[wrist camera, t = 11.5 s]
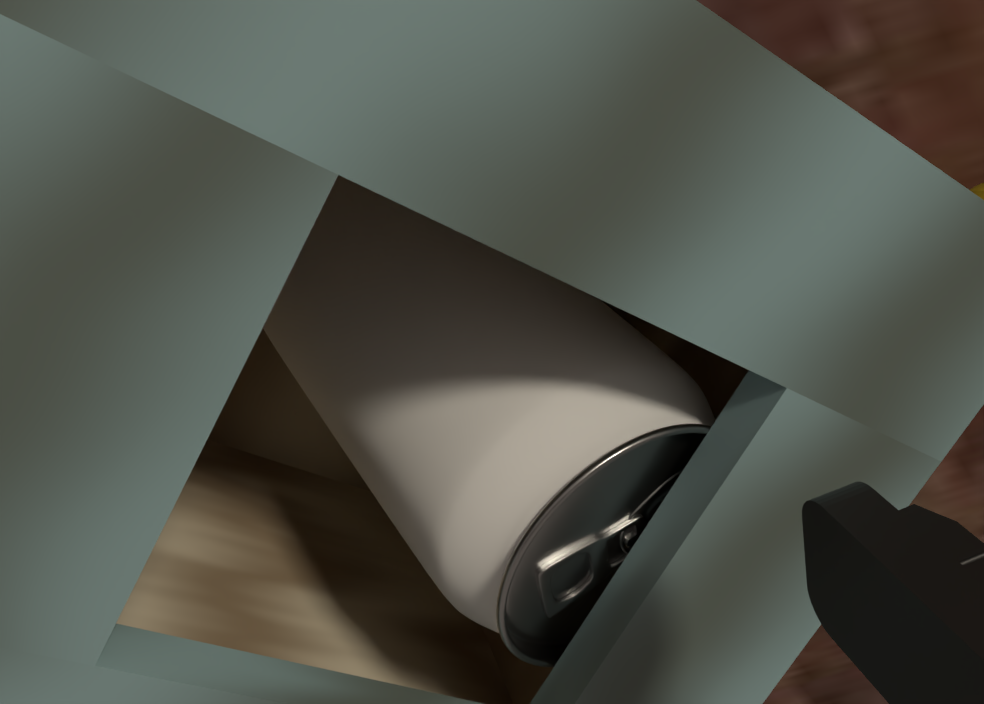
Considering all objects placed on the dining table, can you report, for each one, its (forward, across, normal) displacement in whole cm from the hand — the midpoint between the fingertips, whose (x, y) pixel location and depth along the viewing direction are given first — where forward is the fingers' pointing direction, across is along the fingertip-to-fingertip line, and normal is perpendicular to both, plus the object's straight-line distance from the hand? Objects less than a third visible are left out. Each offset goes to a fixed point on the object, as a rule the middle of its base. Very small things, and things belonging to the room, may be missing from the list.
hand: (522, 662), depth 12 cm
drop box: (+17, 0, 0) cm, 17 cm away
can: (+16, 0, 0) cm, 16 cm away
